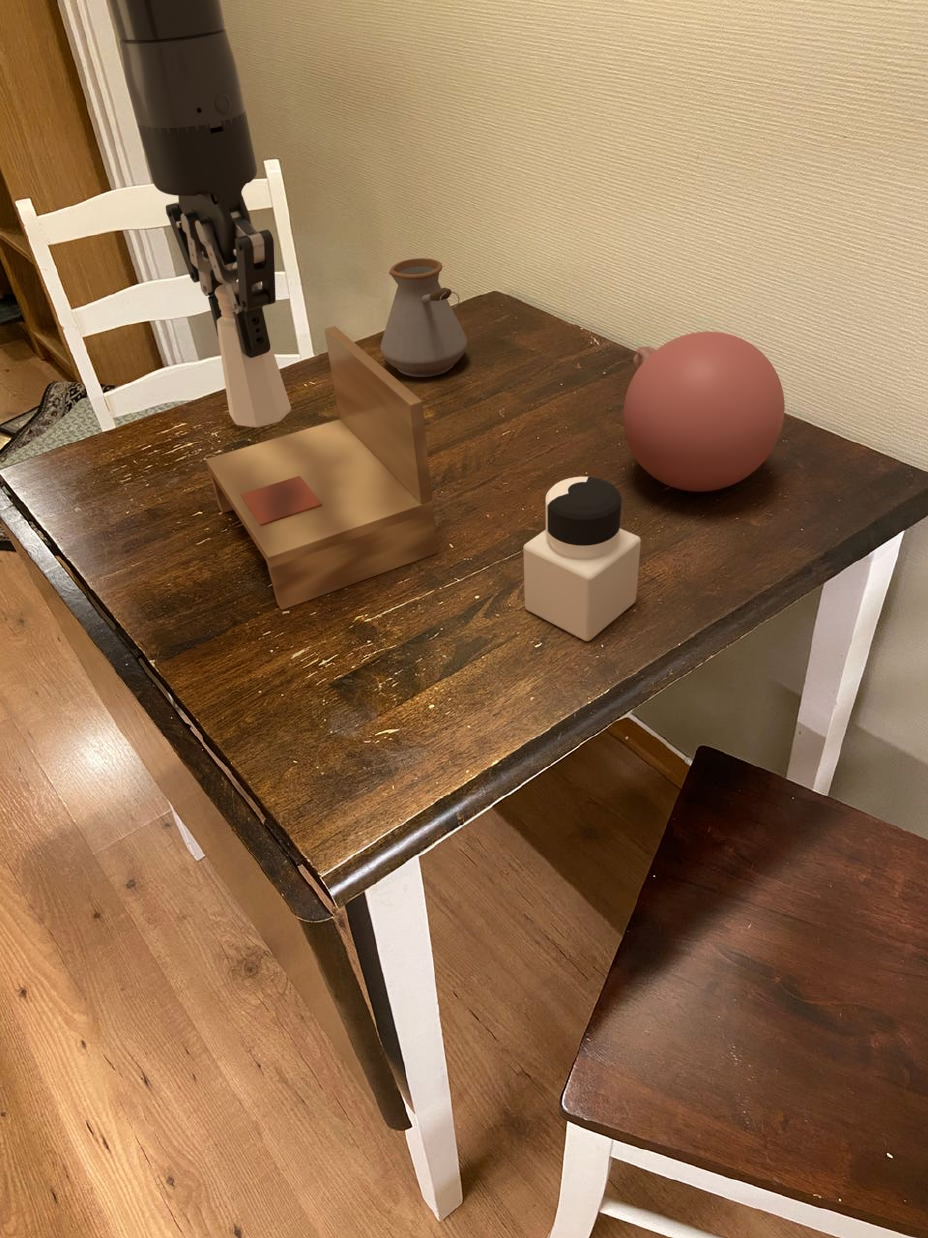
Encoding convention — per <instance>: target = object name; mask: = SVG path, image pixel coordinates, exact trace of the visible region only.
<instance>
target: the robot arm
mask: <svg viewBox="0 0 928 1238" xmlns="http://www.w3.org/2000/svg"><path fill="white" fill-rule="evenodd" d="M108 3H109V7H110V11H111V14H112V18H113V22H114V26H115V30H116V33H117V37H118V39H120V40H119V45H120V50H121V55H122V62H123V70H124V75H125V81H126V86H127V89H128V90H127V91H128V93H129V97H130V101H131V105H132V109H133V112H134V116H135V120H136V123H137V127H138V131H139V134H140V135H139V136H140V138H141V139H140V140H141V142H142V146H143V150H144V153H145V157H146V161H147V164H148V169H149V172H150V175H151V179H152V183H153V185H154V187H155V188H156V189H157V190H158V191H160V192H161V193H162V194H165V195H169V196H174V197H175V196H176V197H178V201H177V202H173V203H170V204H166V205H165V213H166V216H167V218H168V221H169V224H170V226H171V229H172V231H173V234H174V237H175V240H176V242H177V245H178V247H179V250H180V253H181V256H182V258H183V261H184V263H185V267H186V269H187V271H188V274H189V278H190V279H191V281H192V282H193V283H195V284H197V283H199V285H200V290H201V292H202V293H203V295H204V296H205V297H207V300H208V304H209V307H210V312H211V316H212V319H213V320H212V321H213V323H214V328H215V332H216V336H217V339H219V337H218V329H217V320H218V319H219V318H220V317H222V315H221V310H220V308H219V304H218V299H217V297H216V295H215V290H216V288H217V287H219V286H220V285H222V284H224V285H225V287H226V290H227V293H228V296H229V299H230V302H231V306H232V308H233V310H234V312H233V314H234V318H235V323H236V327H237V331H238V335H239V340H240V344H241V348H242V352H243V354H244V355H246V356H248V357H249V358H253V357H256V356H259V355H262V354H265V353H267V352H269V350H270V343H271V341H270V342H269V340H270V337H269V332H268V328H267V322H266V319H265V314H264V308H263V307H264V306H265V307H266V306H270V305H272V304H275V303H276V301H277V300H276V299H277V298H276V296H277V295H276V269H275V268H276V265H275V264H276V263H275V240H274V237H273V234H272V232H271V230H269V229H263V230H260V231H257V230H256V229H255V228H254V225H253V222H252V219H251V215H250V212H249V210H248V207H247V205H246V201H245V198H244V196H243V189H244V187H246V185H247V184H250V183H251V182H253V180H255V178H256V177H257V173H258V168H257V162H256V157H255V152H254V147H253V142H252V136H251V131H250V127H249V120H248V116H247V110H246V106H245V101H244V96H243V95H244V94H243V91H242V85H241V79H240V75H239V70H238V66H237V62H236V59H235V56H234V52H233V49H232V47H231V43H230V40H229V36H228V31H227V29H226V23H225V19H224V14H223V8H222V4H221V0H108ZM235 263H236V267H233V266H234V264H235ZM236 282H238V286H239V291H238V288H237V285H236Z"/></svg>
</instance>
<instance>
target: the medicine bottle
mask: <svg viewBox="0 0 928 1238" xmlns="http://www.w3.org/2000/svg"><path fill="white" fill-rule="evenodd" d="M621 513H622V494H621V492H620V491H619V489H617V488H616V487H615V486H614V484H612V483H611V482H609V481H607V480H605V479H603V478H599V477H598V478H597V477H592V476H573V477H568V478H566V479H562V480H560V481H558V482H556V483H555V484H553V486H551V488H550V489H548V491H547V493H546V495H545V529H544V530H543V531H541V532H540V533H539V534H537V535H536V536H534V537H533V538H531V539H530V540H529V541H528V542H526V543H525V544H524V545H523V585H524V586H523V589H524V592H523V593H524V609H525V610H526V611H528V612H530V613H532V614H534V615H536V616H538V617H539V618H541V619H543V620H545V621H546V622H549V623H550V624H553V625H555V626H556V627H558V628H560V629H562V630H564V631H566V632H567V633H569V634H571V635H573V636H575V637H576V638H579V639H581V640H582V641H584V642H590V641H591V640H592V639H593V638H595V637H596V636H597V635H599V634H600V633H601V632H602V631H603V630H604V629H606V628H607V627H608V626H609V625H610V624H611V623H612V622H614V621H615V620H616V619H617V618H619V616H621V615H622V614H624V612H625V611H627V610H628V609H629V608H630V607H631V606H632V605H634V604H635V603H636V601H637V594H638V593H637V592H638V581H639V580H638V579H639V568H640V556H641V543H642V542H641V541H642V540H641V537H640V536H638V535H636V534H634V533H632V532H629V531H627V530H626V529H625V530H624V529H622V528H620V527H621Z"/></svg>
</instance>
